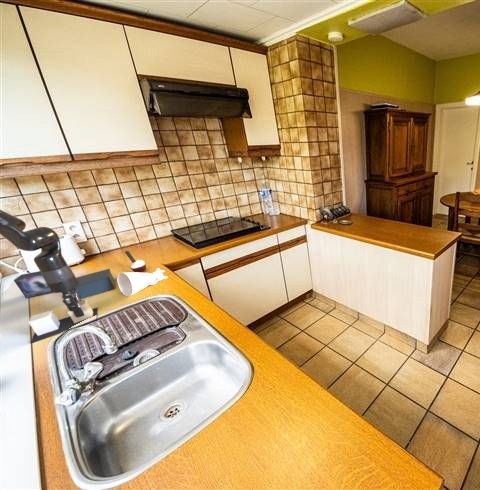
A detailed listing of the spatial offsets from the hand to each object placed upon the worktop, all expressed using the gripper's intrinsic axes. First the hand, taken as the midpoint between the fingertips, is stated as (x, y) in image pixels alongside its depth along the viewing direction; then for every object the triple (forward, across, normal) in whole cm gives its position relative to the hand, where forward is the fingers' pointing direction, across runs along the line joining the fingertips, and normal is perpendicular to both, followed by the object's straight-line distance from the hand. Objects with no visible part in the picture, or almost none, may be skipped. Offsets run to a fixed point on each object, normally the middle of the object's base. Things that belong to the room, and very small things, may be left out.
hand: (81, 313), depth 109 cm
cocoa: (+3, -36, +21) cm, 42 cm away
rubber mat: (+3, 0, -5) cm, 6 cm away
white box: (+2, 0, -10) cm, 10 cm away
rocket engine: (+3, -11, +23) cm, 25 cm away
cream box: (+2, 0, 0) cm, 2 cm away
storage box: (+3, -28, +3) cm, 28 cm away
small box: (+3, -46, -17) cm, 49 cm away
